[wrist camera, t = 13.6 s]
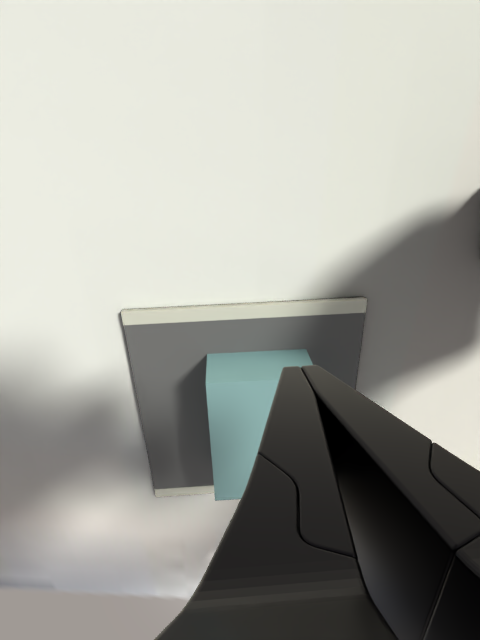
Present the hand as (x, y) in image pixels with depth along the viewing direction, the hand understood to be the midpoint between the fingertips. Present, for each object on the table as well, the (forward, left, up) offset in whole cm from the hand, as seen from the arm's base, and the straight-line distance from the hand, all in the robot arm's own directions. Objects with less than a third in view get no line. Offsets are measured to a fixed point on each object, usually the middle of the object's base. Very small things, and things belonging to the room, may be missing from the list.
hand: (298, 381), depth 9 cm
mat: (0, +10, -12) cm, 16 cm away
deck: (+3, +10, -10) cm, 15 cm away
